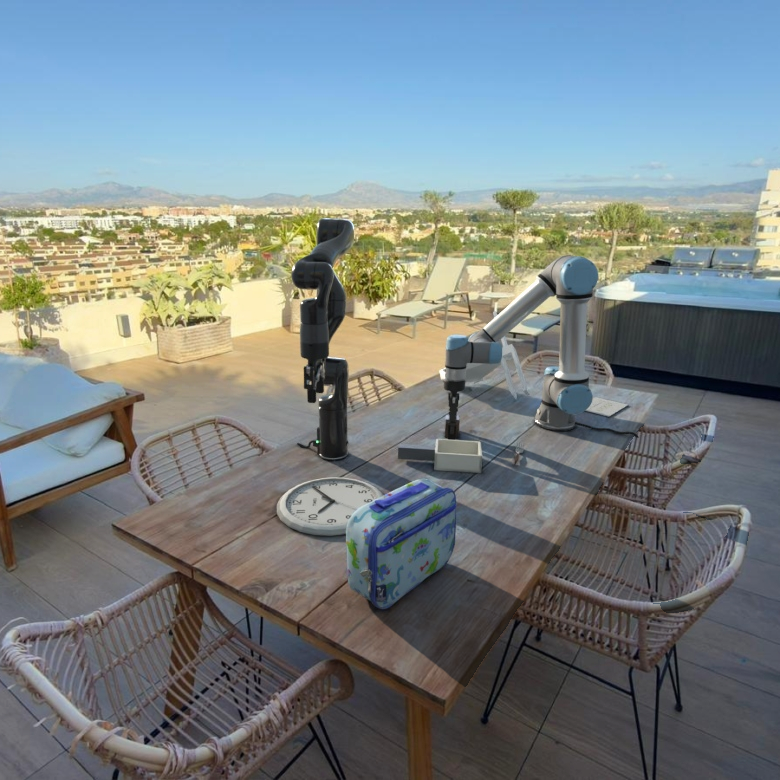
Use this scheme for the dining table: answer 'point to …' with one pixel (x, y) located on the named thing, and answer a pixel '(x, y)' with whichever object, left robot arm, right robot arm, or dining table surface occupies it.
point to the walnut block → (456, 426)
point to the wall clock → (324, 504)
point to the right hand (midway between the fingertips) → (451, 434)
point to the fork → (518, 452)
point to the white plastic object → (480, 370)
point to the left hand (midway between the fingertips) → (316, 397)
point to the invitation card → (605, 406)
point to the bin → (446, 455)
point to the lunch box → (400, 540)
